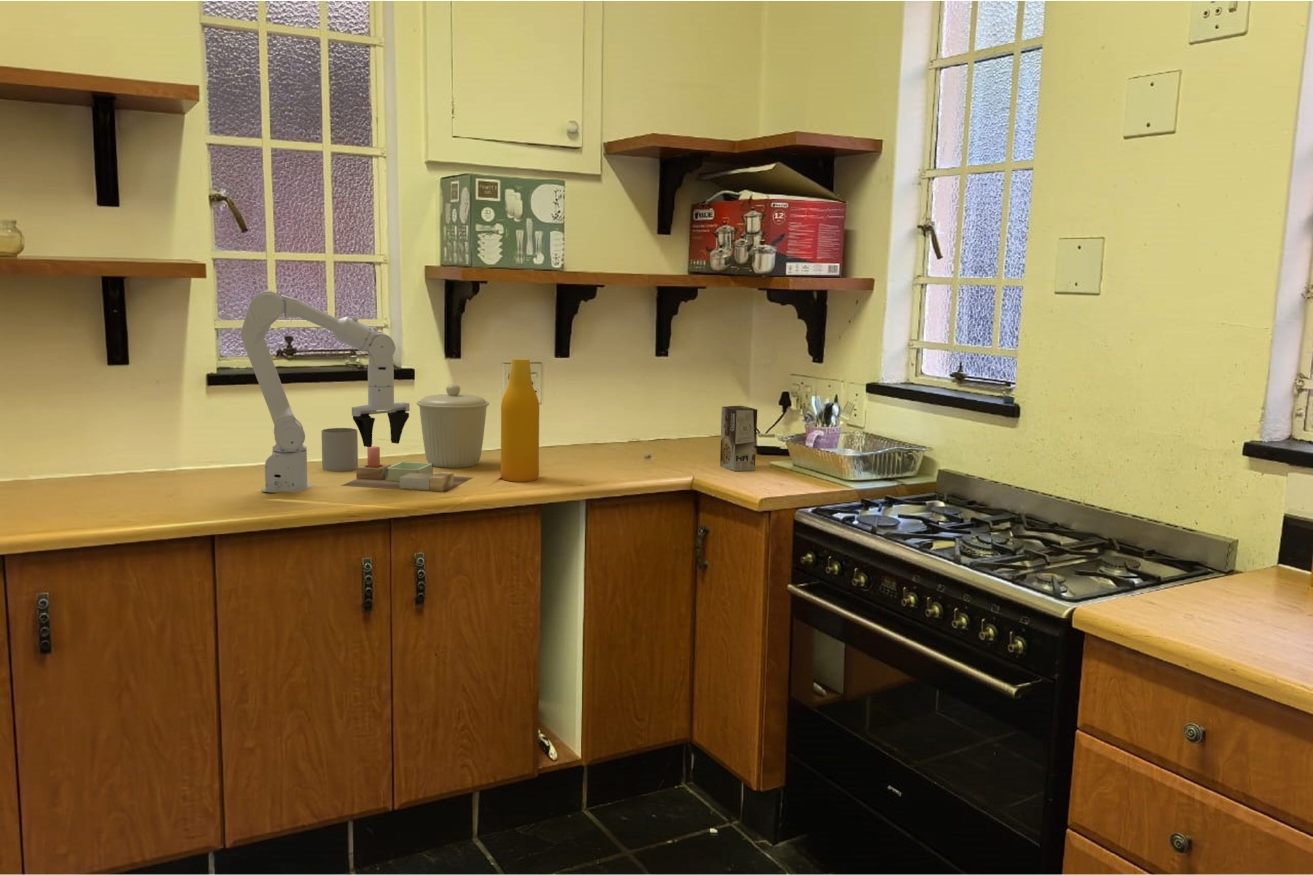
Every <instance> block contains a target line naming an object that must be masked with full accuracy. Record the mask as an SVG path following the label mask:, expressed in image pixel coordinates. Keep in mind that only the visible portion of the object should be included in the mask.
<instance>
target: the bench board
mask: <svg viewBox="0 0 1313 875" xmlns="http://www.w3.org/2000/svg"><path fill="white" fill-rule="evenodd" d="M390 466H392V465H391V464H385V463H382V464H380V467H379V468H370V467H368V462H367V463H365V464H363V465H358V467H357V468H356V469H355V472H356V473H355V474H356V477H355V479H353V480H351V481H349V482H345V483H344V484H342V485H341V484H340V486H341V487H353V488H368V489H369V488H372V489H383V490H384V489H386V490H400V491H401V490H403V491H404V490H405V491H416V492H417V491H419V492H432V493H433V492H434V493H447V492H449V491H452V490H453V489H455V488H457V487H459V486H461V485H463V484H464V483H466V482H468V481H469V480H471V479H472V480H473V479H474V477H473V476H472V477H471V476H456V475H454V472H448V471H446V472H445V471H440V472H438V473H435V474H436V475H434V476H432V477H430V490H417V489H401V488H400V481H387V480H386V470H385V468H387V467H390Z"/></svg>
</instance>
